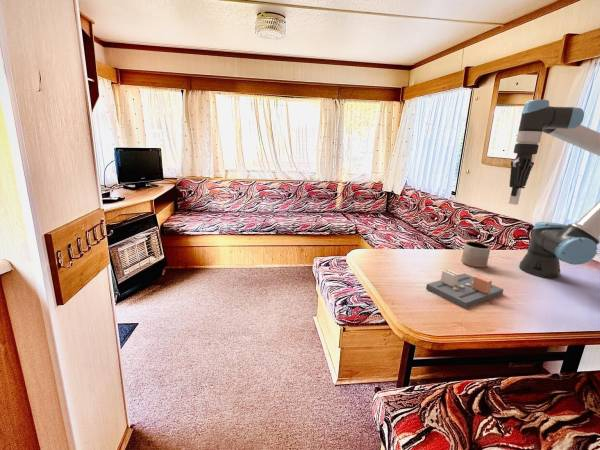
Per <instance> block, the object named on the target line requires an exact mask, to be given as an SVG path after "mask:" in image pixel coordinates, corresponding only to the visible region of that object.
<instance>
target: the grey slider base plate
mask: <svg viewBox="0 0 600 450" xmlns="http://www.w3.org/2000/svg"><path fill="white" fill-rule="evenodd" d="M474 277H475V276H472V275H470V274H467V273H465V272H464V273H462V274H459V277H458V282H457V285H456V286H453V287H452V286H450V285H447V284H445V283H443V282H441V279H440V280H437V281H433V282H429V283H426V286H425V287H426V290H428V291H429V290H430V292H432V293H434V294H435V295H438V296H440V297H441V298H444V299H445V300H448V301H450V302H452V303H453V304H456V305H457V306H460V307H462V308H464V309H467V308H469V307H471V306H474V305H478V304H480V303H483V302H485V301H488V300H491V299H493V298H496V297H499V296H501V295H503V293H504V288H501V287H499V286H496V285H494V284H493V283H492V284H491V288H490V292H488V293H483V292H481V291H478V290H476V289H474V288H472V286H473V281H474Z"/></svg>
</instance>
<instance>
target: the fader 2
mask: <svg viewBox="0 0 600 450" xmlns="http://www.w3.org/2000/svg"><path fill="white" fill-rule="evenodd" d="M473 277H474V281H473V286H472V288H474V289H476V290H478V291H481V292H483V293H488V292H490V288H491V284H492V285H493V280H491V279H488V278H487V277H484V276H481V275H476V276H473Z"/></svg>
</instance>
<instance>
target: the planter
mask: <svg viewBox="0 0 600 450" xmlns="http://www.w3.org/2000/svg"><path fill="white" fill-rule="evenodd" d="M490 251H491V246H490V245H488V244H486V243H483V242H480V241H479V242H478V241H474V240H473V241H472V240H471V241H465V242H464V246H463V250H462V255H461V259H460V260H461V263H463V265H466V266H468V267H472V268H479V269H481V268H482V269H483V268H486V267H487V266H488V262H489V257H490V253H491V252H490Z"/></svg>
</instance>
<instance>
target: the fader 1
mask: <svg viewBox="0 0 600 450" xmlns="http://www.w3.org/2000/svg"><path fill="white" fill-rule="evenodd" d="M459 275H460V274H459V273H457V272H454V271H452V270H449V269H444V270H442V271H441V276H440V277H441V278H440V280H441V282H443V283H445V284H447V285H450V286H452V287H453V286H456V285H457V282H458V277H459Z"/></svg>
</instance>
